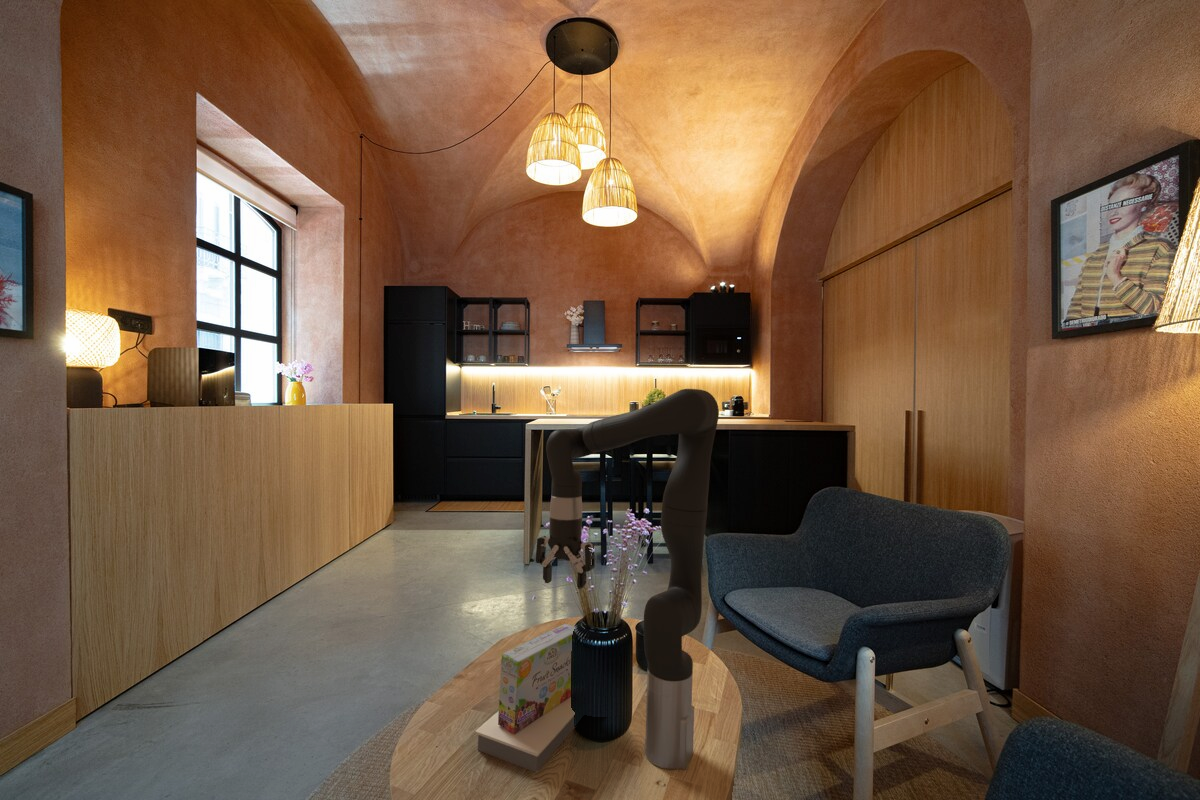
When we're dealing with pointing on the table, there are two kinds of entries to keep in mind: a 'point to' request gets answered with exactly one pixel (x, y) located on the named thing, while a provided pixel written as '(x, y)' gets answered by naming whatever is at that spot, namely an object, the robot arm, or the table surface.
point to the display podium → (528, 737)
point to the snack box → (535, 678)
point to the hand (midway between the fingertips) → (564, 585)
